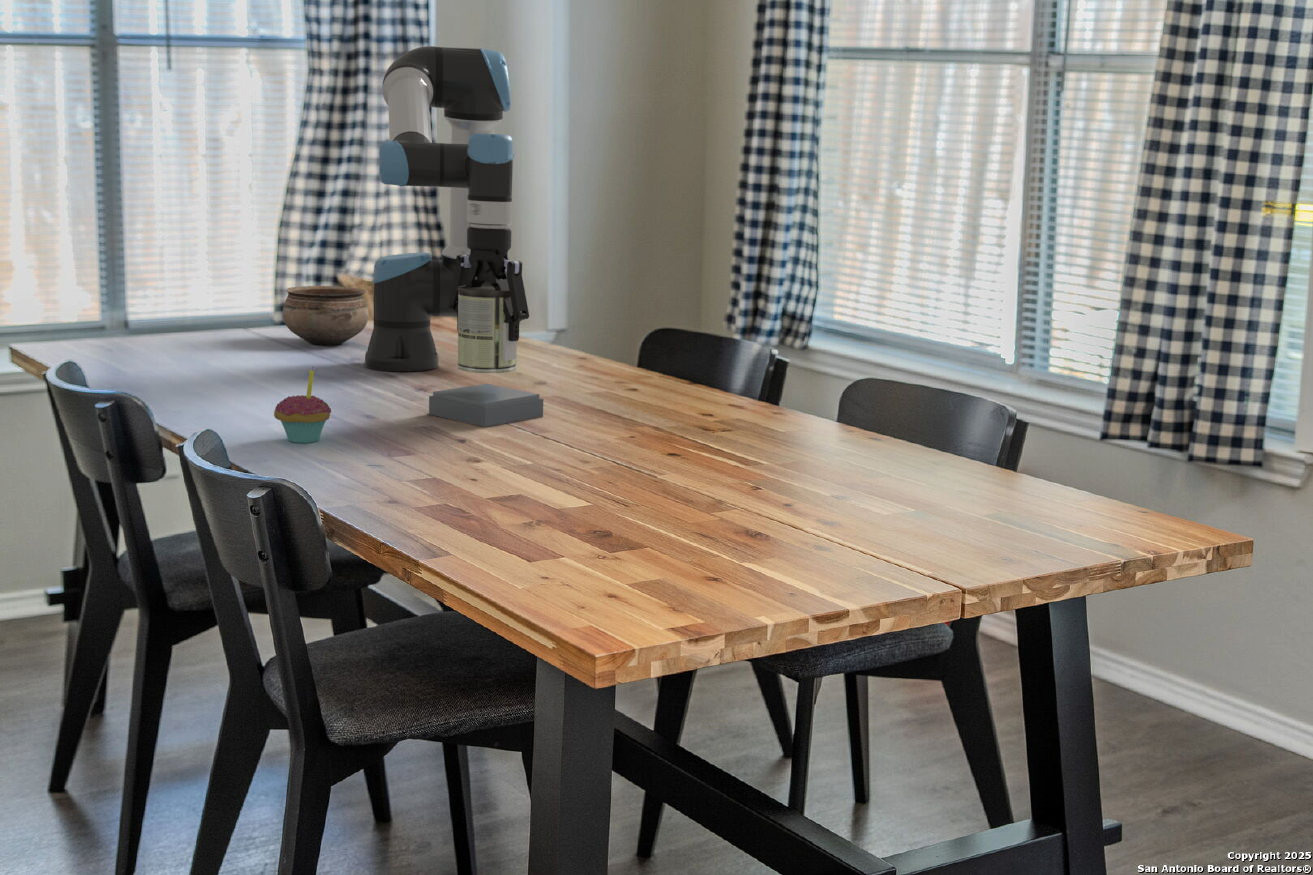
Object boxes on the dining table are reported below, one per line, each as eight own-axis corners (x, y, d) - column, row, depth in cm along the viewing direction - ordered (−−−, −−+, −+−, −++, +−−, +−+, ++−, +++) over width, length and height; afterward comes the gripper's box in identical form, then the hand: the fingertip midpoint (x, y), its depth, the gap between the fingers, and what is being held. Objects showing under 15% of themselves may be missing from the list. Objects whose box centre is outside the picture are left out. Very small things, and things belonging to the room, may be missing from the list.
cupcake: (341, 438, 217) (340, 363, 214) (311, 448, 209) (310, 371, 206) (294, 432, 219) (293, 358, 217) (263, 442, 212) (261, 365, 209)
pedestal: (428, 414, 238) (429, 391, 237) (487, 404, 249) (487, 382, 248) (485, 427, 229) (485, 403, 228) (542, 416, 240) (543, 394, 239)
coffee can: (464, 362, 242) (465, 283, 240) (521, 365, 242) (523, 286, 239) (450, 371, 232) (451, 288, 229) (509, 375, 232) (511, 292, 229)
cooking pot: (388, 350, 305) (388, 295, 303) (306, 354, 294) (306, 298, 292) (343, 334, 325) (343, 283, 322) (265, 338, 314) (264, 285, 312)
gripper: (427, 222, 236) (426, 349, 241) (521, 231, 222) (518, 366, 227) (460, 221, 242) (458, 346, 246) (553, 230, 228) (549, 362, 233)
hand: (487, 355), depth 237 cm, fingers closed on coffee can, 10 cm apart
